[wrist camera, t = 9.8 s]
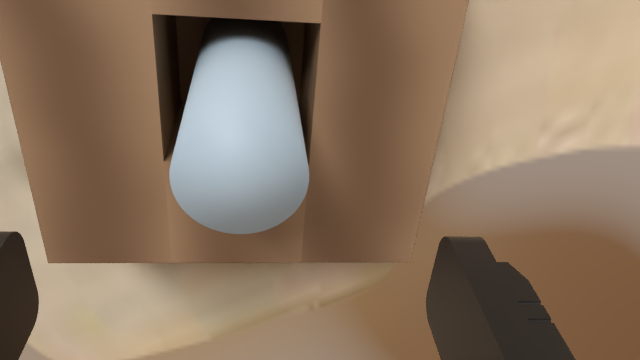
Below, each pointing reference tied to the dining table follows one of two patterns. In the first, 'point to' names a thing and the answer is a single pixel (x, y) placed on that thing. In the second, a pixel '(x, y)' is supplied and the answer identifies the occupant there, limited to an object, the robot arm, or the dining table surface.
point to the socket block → (168, 107)
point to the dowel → (241, 131)
